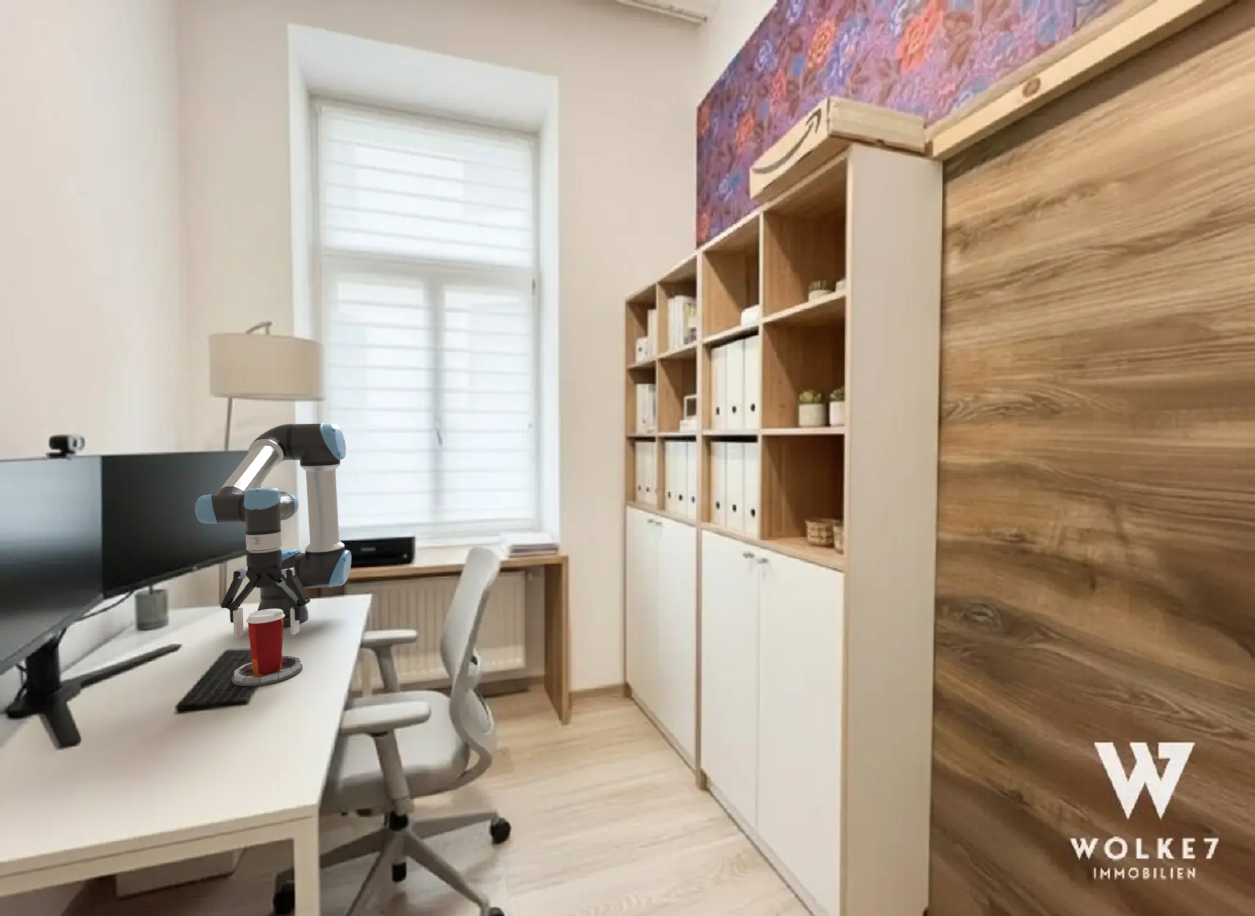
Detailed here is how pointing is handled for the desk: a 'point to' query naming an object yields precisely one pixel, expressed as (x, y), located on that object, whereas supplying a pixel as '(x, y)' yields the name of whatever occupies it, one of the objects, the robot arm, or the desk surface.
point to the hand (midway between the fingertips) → (267, 634)
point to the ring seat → (288, 670)
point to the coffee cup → (266, 640)
